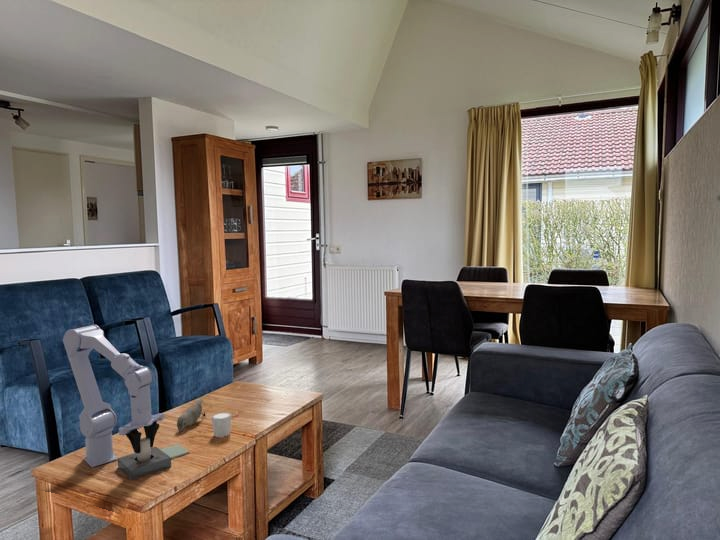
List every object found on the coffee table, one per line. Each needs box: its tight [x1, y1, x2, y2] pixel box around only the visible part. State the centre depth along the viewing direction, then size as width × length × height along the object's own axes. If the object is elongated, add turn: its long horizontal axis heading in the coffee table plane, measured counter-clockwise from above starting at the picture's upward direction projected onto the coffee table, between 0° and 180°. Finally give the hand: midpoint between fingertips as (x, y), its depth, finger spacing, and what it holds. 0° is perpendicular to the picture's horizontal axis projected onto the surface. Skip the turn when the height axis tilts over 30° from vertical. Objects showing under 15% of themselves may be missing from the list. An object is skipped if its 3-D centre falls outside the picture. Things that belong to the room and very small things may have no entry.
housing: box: [117, 446, 172, 481], centre depth 158 cm, size 12×12×3 cm
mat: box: [159, 443, 191, 460], centre depth 168 cm, size 9×7×1 cm
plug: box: [137, 437, 151, 462], centre depth 158 cm, size 4×4×7 cm
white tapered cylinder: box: [211, 412, 232, 438], centre depth 183 cm, size 7×7×7 cm
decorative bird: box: [176, 399, 207, 433], centre depth 193 cm, size 5×16×7 cm, turn 167°
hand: (143, 449), depth 158 cm, fingers closed on plug, 4 cm apart
